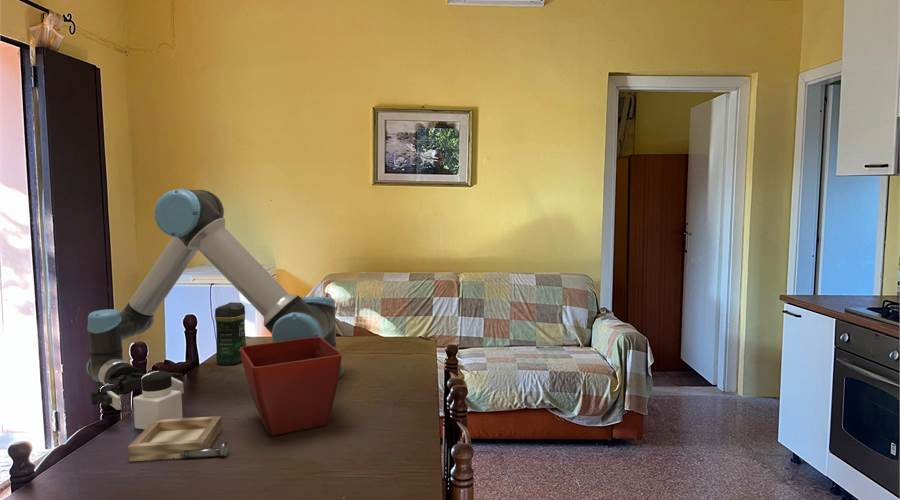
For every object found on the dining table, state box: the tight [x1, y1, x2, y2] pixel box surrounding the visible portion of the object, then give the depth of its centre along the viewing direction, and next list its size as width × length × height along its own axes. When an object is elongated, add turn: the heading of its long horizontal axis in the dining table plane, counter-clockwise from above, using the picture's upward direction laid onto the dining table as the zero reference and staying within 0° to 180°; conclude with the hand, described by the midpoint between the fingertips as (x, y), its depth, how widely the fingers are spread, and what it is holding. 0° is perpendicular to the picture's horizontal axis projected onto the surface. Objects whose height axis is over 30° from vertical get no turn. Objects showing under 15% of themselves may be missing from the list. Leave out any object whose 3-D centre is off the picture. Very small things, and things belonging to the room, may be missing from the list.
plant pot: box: [240, 337, 343, 437], centre depth 133 cm, size 19×19×17 cm
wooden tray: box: [127, 415, 223, 462], centre depth 122 cm, size 14×14×3 cm
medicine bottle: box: [132, 370, 184, 431], centre depth 132 cm, size 7×7×12 cm
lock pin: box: [180, 441, 229, 459], centre depth 116 cm, size 9×3×3 cm, turn 97°
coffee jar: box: [214, 301, 247, 366], centre depth 183 cm, size 10×8×19 cm
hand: (151, 395), depth 133 cm, fingers open, 13 cm apart
